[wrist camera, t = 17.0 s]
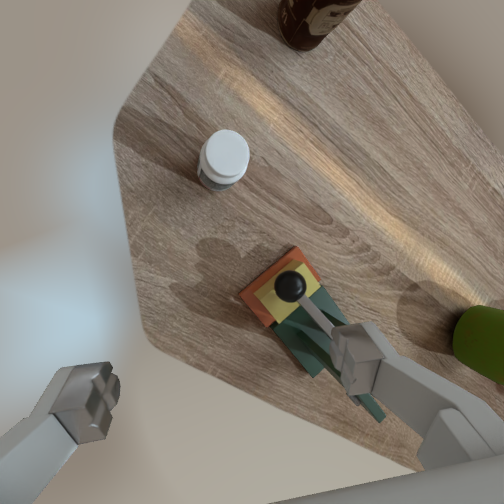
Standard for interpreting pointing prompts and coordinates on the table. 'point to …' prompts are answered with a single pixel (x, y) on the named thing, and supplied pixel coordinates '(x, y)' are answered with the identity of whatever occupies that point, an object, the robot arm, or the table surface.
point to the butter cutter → (319, 344)
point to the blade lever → (300, 298)
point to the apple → (481, 341)
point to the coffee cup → (311, 20)
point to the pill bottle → (222, 160)
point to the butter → (263, 293)
